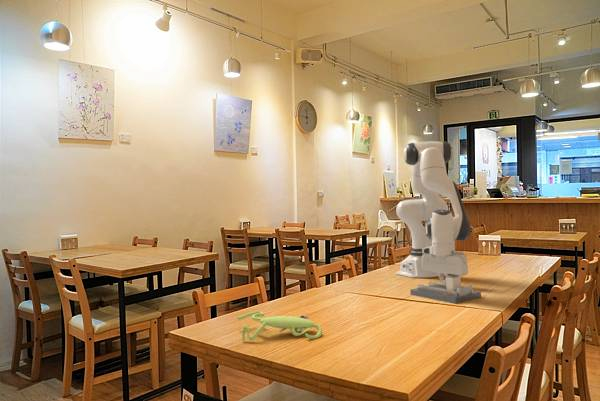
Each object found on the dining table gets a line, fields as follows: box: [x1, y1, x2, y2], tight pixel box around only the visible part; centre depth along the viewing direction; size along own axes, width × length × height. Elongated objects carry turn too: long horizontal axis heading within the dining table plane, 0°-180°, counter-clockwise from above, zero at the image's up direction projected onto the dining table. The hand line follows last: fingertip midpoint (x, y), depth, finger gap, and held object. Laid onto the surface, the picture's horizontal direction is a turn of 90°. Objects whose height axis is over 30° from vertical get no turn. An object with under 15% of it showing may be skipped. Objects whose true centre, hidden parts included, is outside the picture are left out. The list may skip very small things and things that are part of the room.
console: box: [410, 281, 482, 304], centre depth 181 cm, size 22×16×5 cm
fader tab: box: [445, 274, 462, 291], centre depth 178 cm, size 3×5×7 cm, turn 124°
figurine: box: [237, 311, 323, 342], centre depth 141 cm, size 18×27×6 cm
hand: (444, 284), depth 181 cm, fingers closed
